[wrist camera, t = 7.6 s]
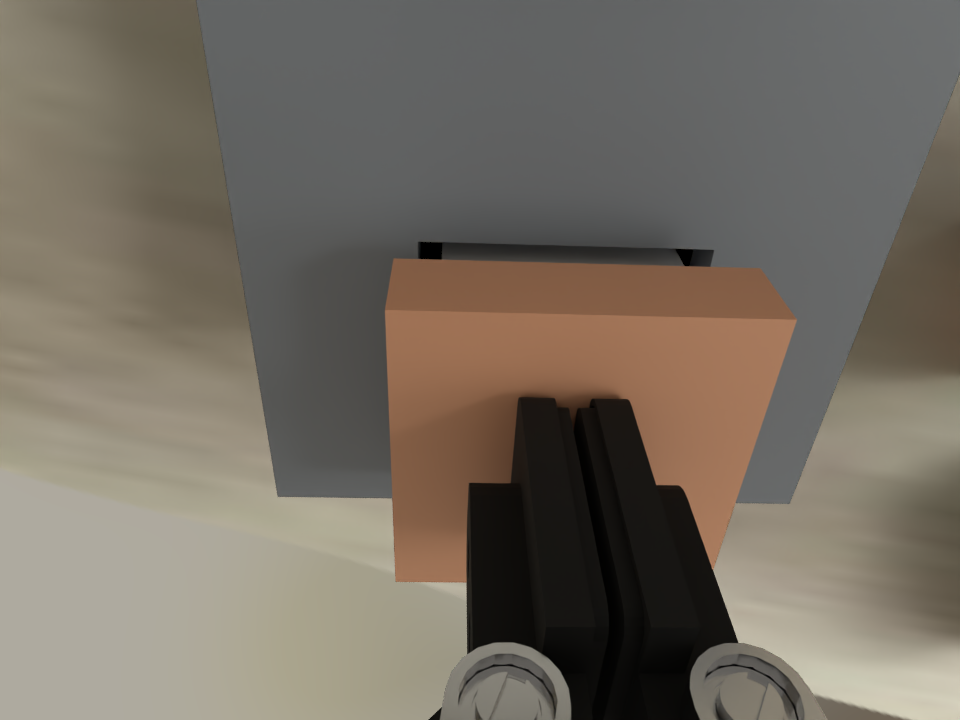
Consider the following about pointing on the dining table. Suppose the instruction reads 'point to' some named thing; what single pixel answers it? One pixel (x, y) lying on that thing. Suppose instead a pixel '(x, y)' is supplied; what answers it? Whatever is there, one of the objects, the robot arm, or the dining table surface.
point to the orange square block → (569, 374)
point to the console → (559, 175)
